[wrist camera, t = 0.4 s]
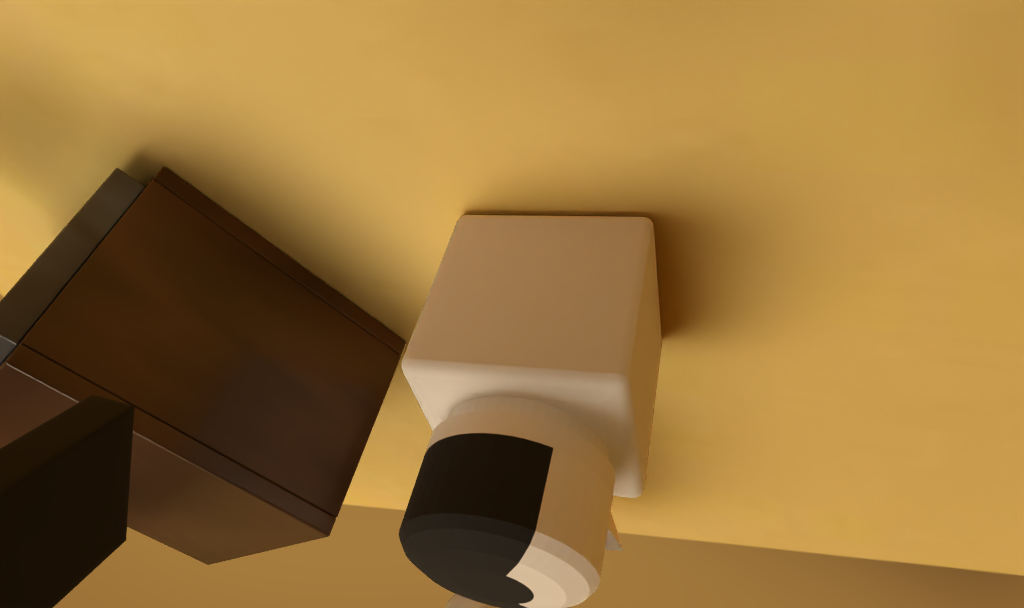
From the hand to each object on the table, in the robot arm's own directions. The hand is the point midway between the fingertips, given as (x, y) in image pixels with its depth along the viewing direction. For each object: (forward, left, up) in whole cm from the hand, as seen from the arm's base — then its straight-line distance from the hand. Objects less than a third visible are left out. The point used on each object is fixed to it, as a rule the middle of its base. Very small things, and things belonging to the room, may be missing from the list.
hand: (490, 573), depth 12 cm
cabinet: (+16, -15, -15) cm, 27 cm away
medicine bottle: (+9, 0, -15) cm, 18 cm away
